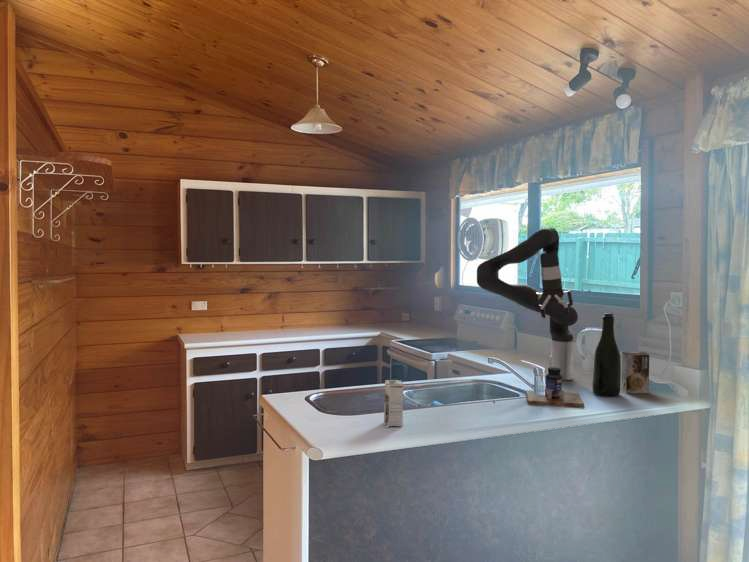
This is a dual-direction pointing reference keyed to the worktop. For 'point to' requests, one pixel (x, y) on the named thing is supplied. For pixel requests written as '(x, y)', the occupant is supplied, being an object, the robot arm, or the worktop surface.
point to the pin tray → (555, 399)
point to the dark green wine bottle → (607, 361)
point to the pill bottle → (554, 381)
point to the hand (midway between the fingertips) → (555, 317)
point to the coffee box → (635, 372)
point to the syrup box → (393, 403)
